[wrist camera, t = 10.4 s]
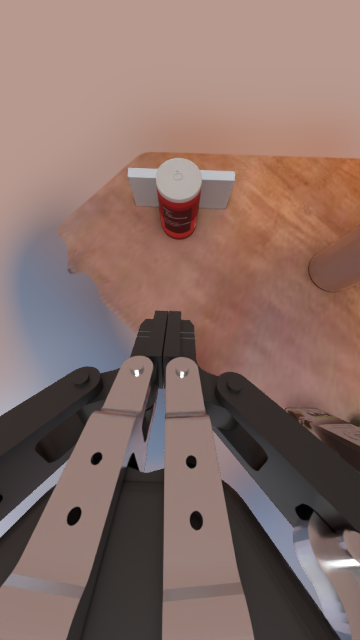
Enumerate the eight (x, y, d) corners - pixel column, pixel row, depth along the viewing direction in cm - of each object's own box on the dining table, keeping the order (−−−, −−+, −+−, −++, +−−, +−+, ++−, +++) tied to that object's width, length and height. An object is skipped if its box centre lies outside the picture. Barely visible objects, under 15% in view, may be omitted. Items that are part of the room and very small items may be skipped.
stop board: (225, 181, 42) (234, 149, 36) (225, 208, 41) (234, 180, 34) (138, 178, 43) (130, 145, 36) (136, 205, 41) (127, 177, 34)
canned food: (185, 202, 42) (187, 150, 31) (203, 230, 41) (211, 186, 30) (155, 217, 41) (146, 169, 30) (172, 246, 40) (170, 207, 29)
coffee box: (283, 407, 35) (371, 456, 19) (317, 407, 35) (434, 457, 19) (287, 461, 33) (386, 563, 17) (323, 461, 33) (454, 563, 17)
